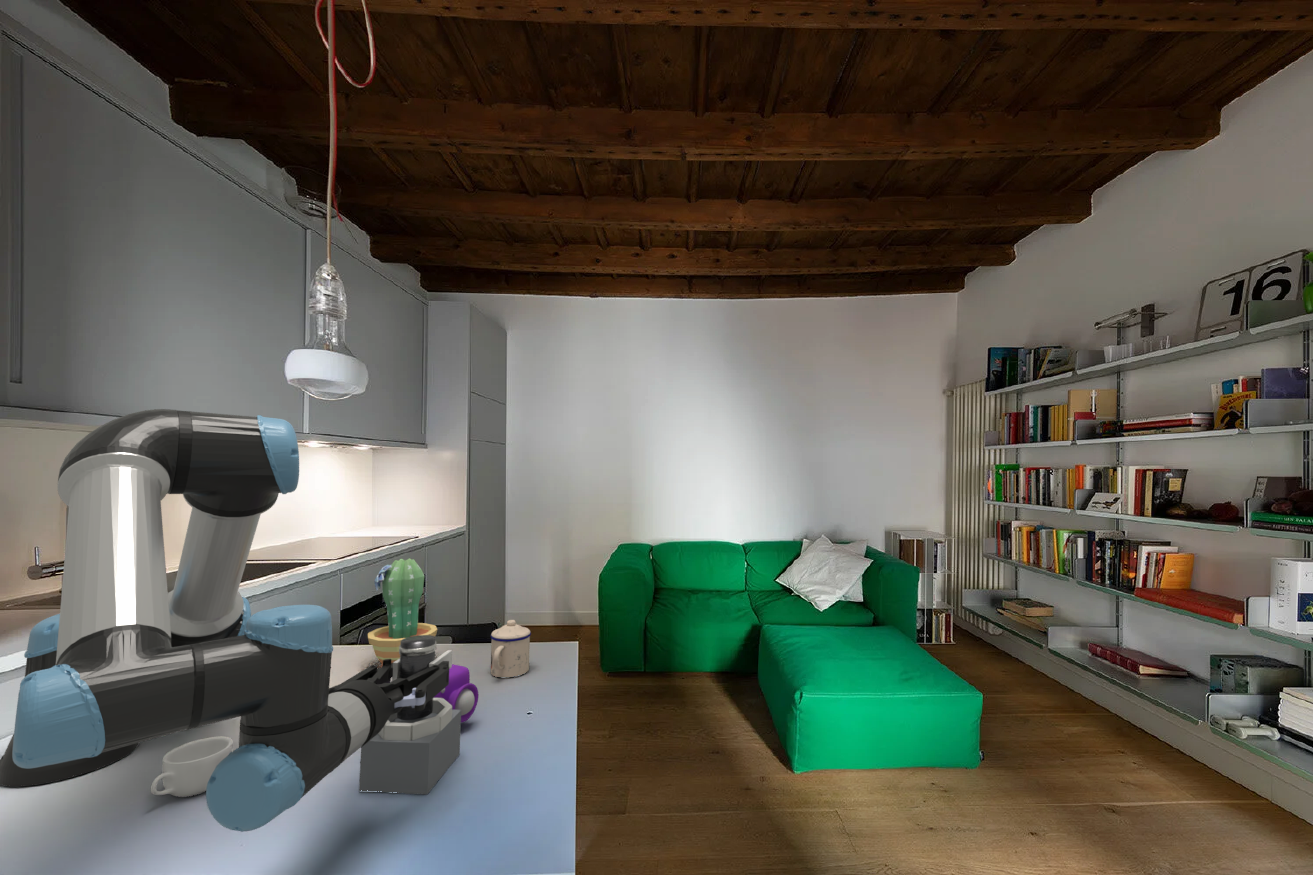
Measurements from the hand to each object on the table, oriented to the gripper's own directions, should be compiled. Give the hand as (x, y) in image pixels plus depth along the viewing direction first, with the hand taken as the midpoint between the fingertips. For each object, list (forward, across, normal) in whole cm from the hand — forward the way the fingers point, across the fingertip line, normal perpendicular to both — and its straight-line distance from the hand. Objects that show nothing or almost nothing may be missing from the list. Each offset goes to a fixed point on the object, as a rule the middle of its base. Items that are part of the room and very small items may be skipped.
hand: (432, 658), depth 87 cm
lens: (-5, 0, -6) cm, 8 cm away
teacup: (-12, -29, -15) cm, 35 cm away
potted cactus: (+40, -26, -15) cm, 50 cm away
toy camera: (+11, -3, -15) cm, 19 cm away
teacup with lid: (+36, +1, -15) cm, 39 cm away
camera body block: (-5, 0, -15) cm, 16 cm away
